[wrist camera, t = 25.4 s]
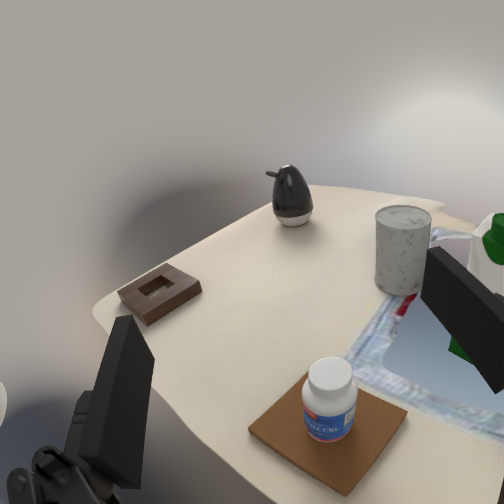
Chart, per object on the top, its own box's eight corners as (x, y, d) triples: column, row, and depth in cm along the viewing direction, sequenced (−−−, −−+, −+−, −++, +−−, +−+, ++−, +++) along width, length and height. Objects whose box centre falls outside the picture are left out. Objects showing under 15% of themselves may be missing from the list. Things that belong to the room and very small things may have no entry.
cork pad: (248, 431, 32) (247, 427, 32) (313, 370, 39) (313, 365, 39) (346, 496, 23) (346, 494, 22) (406, 415, 29) (407, 411, 29)
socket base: (121, 300, 62) (116, 291, 61) (169, 272, 69) (166, 262, 68) (147, 326, 53) (142, 316, 52) (202, 291, 60) (199, 280, 59)
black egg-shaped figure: (275, 216, 86) (266, 163, 79) (313, 212, 84) (306, 158, 77) (273, 233, 77) (263, 173, 70) (316, 228, 75) (309, 167, 68)
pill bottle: (295, 433, 30) (287, 383, 26) (318, 398, 34) (315, 343, 29) (340, 450, 27) (344, 404, 22) (361, 412, 31) (368, 358, 26)
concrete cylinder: (377, 297, 49) (379, 230, 43) (372, 266, 57) (371, 206, 51) (430, 294, 46) (439, 227, 41) (418, 263, 54) (423, 203, 49)
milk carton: (439, 351, 36) (467, 216, 26) (466, 317, 39) (490, 193, 30) (488, 380, 29) (539, 242, 20) (510, 340, 33) (548, 213, 23)
